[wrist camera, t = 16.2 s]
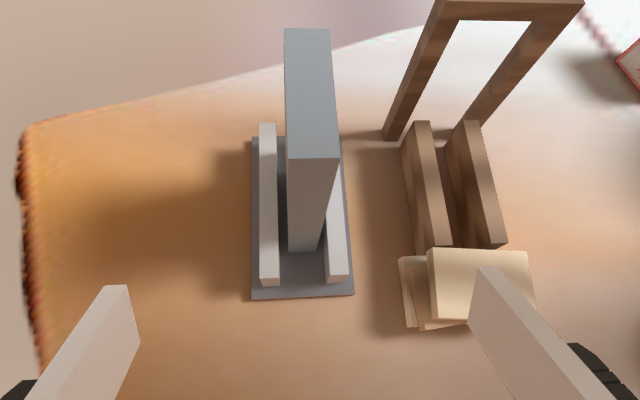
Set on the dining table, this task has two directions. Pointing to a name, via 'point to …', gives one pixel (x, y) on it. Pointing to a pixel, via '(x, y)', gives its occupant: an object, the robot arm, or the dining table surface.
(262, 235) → the slot stand
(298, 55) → the slate board
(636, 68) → the tea bag
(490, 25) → the dining table surface
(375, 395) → the dining table surface
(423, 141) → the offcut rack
